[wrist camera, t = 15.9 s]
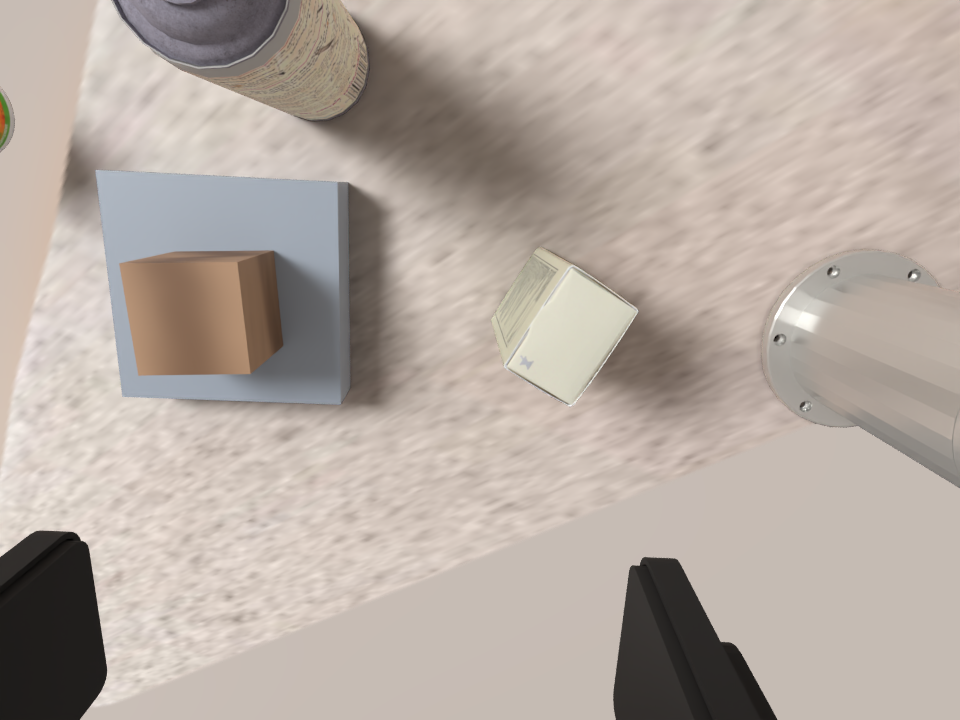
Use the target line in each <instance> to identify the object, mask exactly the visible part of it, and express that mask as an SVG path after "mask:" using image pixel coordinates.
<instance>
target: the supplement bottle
mask: <svg viewBox="0 0 960 720" xmlns="http://www.w3.org/2000/svg"><path fill="white" fill-rule="evenodd" d="M14 124H15V119H14V112H13V108H12V105H11V103H10V101H9V99H8V97H7V95H6V94H5V93H4V91H3V90H2V88H1V87H0V152H1V151H2V150H3V149H5V147H6V146H7V145H8V144H9V142H10V140H11V138H12V136H13V132H14V126H15V125H14Z"/></svg>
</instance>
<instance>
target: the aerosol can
mask: <svg viewBox="0 0 960 720" xmlns="http://www.w3.org/2000/svg"><path fill="white" fill-rule="evenodd" d="M111 1H112V3H113V5H114V7H115V9H116V11H117V13H118V15H119V17H120V19H121V20H122V21H123V22H124V23H125V24H126V25H127V27H128V28H129V29H130V30H131V31H132V32H133V33H134V34H135V36H136V37H137V38H138V39H139V40H140V41H141V42H142V43H143V44H144V45H146V46H147V47H149V48H150V49H151V50H152V51H153V52H154V53H155V54H157V55H158V56H160V57H161V58H163V59H164V60H166V61H168V62H169V63H171V64H172V65H174V66H175V67H177V68H178V69H180V70H182V71H185V72H187V73H190V74H192V75H195V76H197V77H200V78H202V79H204V80H207V81H209V82H212V83H214V84H217V85H219V86H222V87H224V88H227V89H229V90H232V91H234V92H237V93H239V94H242V95H244V96H246V97H249V98H251V99H254V100H256V101H259V102H261V103H264V104H266V105H269V106H271V107H274V108H276V109H279V110H281V111H284V112H286V113H288V114H291V115H294V116H296V117H300V118H303V119H307V120H311V121H321V120H331V119H333V118H335V117H338V116H340V115H342V114H345V113H346V112H347V111H348V110H349V109H350V108H351V107H353V106H354V105H355V104H356V103H357V102H358V100H359V98H360V97H361V95H362V93H363V91H364V89H365V87H366V85H367V80H368V74H369V69H370V65H369V55H368V48H367V45H366V43H365V40H364V38H363V35H362V33H361V30H360V29H359V28H358V26H357V24H356V23H355V22H354V20H353V19H352V17H351V16H350V14H349V13H348V11H347V10H346V8H345V7H344V5H343V4H342V2H341V1H340V0H111Z"/></svg>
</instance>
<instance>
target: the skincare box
mask: <svg viewBox="0 0 960 720" xmlns="http://www.w3.org/2000/svg"><path fill="white" fill-rule="evenodd" d="M638 312H639V310H638V309H637V308H636V307H635V306H633V305H632V304H631V303H629V302H628V301H626V300H625V299H624V298H622V297H621V296H620V295H618V294H617V293H616V292H614V291H613V290H611V289H610V288H609V287H607V286H606V285H604V284H603V283H601V282H600V281H598V280H597V279H595V278H594V277H592V276H591V275H589V274H588V273H586V272H585V271H583V270H582V269H580V268H579V267H577V266H576V265H574V264H572V263H570V262H568V261H566V260H564V259H562V258H560V257H559V256H557V255H555V254H553V253H551V252H550V251H548V250H546V249H544V248H542V247H538V248H537V249H536V250H535V252H534V253H533V255H532V256H531V257H530V259H529V260H528V262H527V263H526V265H525V266H524V268H523V269H522V271H521V272H520V274H519V275H518V277H517V279H516V280H515V282H514V283H513V285H512V286H511V288H510V290H509V291H508V293H507V294H506V296H505V298H504V299H503V301H502V302H501V304H500V306H499V307H498V309H497V311H496V313H495V314H494V316H493V318H492V320H491V322H492V326H493V329H494V333H495V337H496V340H497V344H498V347H499V351H500V354H501V358H502V362H503V366H504V368H505V369H507V370H508V371H510V372H512V373H513V374H515V375H516V376H518V377H519V378H521V379H522V380H524V381H526V382H527V383H529V384H530V385H532V386H534V387H535V388H537V389H539V390H540V391H542V392H544V393H545V394H547V395H549V396H550V397H552V398H554V399H556V400H558V401H559V402H561V403H563V404H565V405H567V406H569V407H571V406H573V405H574V404H575V403H576V401H577V400H578V399H579V398H580V397H581V395H582V394H583V393H584V391H585V390H586V389H587V387H588V386H589V385H590V383H591V382H592V381H593V379H594V378H595V376H596V375H597V374H598V372H599V371H600V369H601V368H602V366H603V365H604V364H605V362H606V361H607V359H608V358H609V356H610V355H611V353H612V352H613V350H614V349H615V347H616V346H617V344H618V343H619V341H620V340H621V338H622V337H623V335H624V334H625V332H626V331H627V329H628V328H629V326H630V324H631V323H632V321H633V320H634V318H635V317H636V315H637V314H638Z"/></svg>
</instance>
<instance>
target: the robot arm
mask: <svg viewBox="0 0 960 720" xmlns="http://www.w3.org/2000/svg"><path fill="white" fill-rule="evenodd" d="M828 269H829V272H828V273H827V271H828ZM776 335H777V337H776V339H775V340H774V338H775V336H776ZM761 359H762V364H763V370H764V374H765V377H766V379H767V382H768V384H769V387H770V388H771V389H772V391H773V392H774V394H775V395H776V397H777V398H778V399H779V400H780V401H781V402H782V403H783V404H784V405H785V406H786V407H787V408H788V409H790V410H791V411H793V412H794V413H795V414H797V415H798V416H800V417H802V418H804V419H806V420H809V421H811V422H813V423H815V424H820V425H824V426H829V427H853V426H859V427H861V428H862V429H864V430H866V431H867V432H869V433H871V434H872V435H874V436H875V437H877V438H879V439H881V440H882V441H884V442H885V443H887V444H889V445H890V446H892V447H894V448H895V449H897V450H898V451H900V452H902V453H903V454H905V455H907V456H908V457H910V458H911V459H913V460H915V461H916V462H918V463H920V464H921V465H923V466H924V467H926V468H928V469H929V470H931V471H933V472H934V473H936V474H938V475H939V476H941V477H942V478H944V479H946V480H947V481H949V482H951V483H952V484H954V485H955V486H957V487H959V488H960V292H958V291H954V290H949V289H944V288H940V286H939V285H938V283H937V281H936V279H935V278H934V277H933V276H932V275H931V274H930V273H929V272H928V271H927V270H926V269H925V268H924V267H923V266H921V265H920V264H918V263H917V262H915V261H914V260H912V259H910V258H907V257H905V256H902V255H900V254H897V253H893V252H887V251H882V250H867V249H860V250H854V251H847V252H842V253H839V254H836V255H833V256H830V257H828V258H825V259H823V260H822V261H820V262H818V263H816V264H814V265H812V266H811V267H809V268H808V269H807V270H805V271H804V272H803V273H801V274H800V275H799V276H798V277H796V278H795V279H794V280H793V281H792V282H791V284H790V285H789V286H788V287H787V288H786V289H785V290H784V291H783V292H782V294H781V295H780V297H779V298H778V300H777V302H776V303H775V305H774V306H773V308H772V310H771V312H770V315H769V317H768V319H767V322H766V324H765V329H764V333H763V337H762V348H761ZM106 676H107V665H106V658H105V652H104V645H103V639H102V632H101V625H100V619H99V612H98V606H97V599H96V592H95V586H94V579H93V573H92V566H91V559H90V553H89V548H88V545H87V544H86V543H85V542H83V541H81V540H80V537H79V536H78V535H77V534H76V533H74V532H61V531H36V532H34V533H32V534H30V535H29V536H28V537H26V538H25V539H24V540H22V541H21V542H20V543H18V544H17V545H16V546H14V547H13V548H12V549H10V550H9V551H8V552H7V553H5V554H4V555H3V556H1V557H0V720H80V718H81V717H82V716H83V715H84V713H85V712H86V711H87V709H88V708H89V707H90V706H91V704H92V703H93V702H94V700H95V699H96V698H97V696H98V695H99V693H100V692H101V690H102V688H103V686H104V684H105V680H106ZM613 695H614V696H613V697H614V699H613V701H614V712H615V717H616V720H777V718H776V716H775V715H774V713H773V711H772V709H771V707H770V705H769V703H768V702H767V700H766V698H765V696H764V694H763V692H762V691H761V689H760V687H759V685H758V683H757V681H756V680H755V678H754V676H753V674H752V672H751V671H750V669H749V667H748V665H747V663H746V661H745V660H744V658H743V656H742V654H741V653H740V651H739V650H738V648H737V647H736V646H735V645H734V644H732V643H729V642H720V640H719V638H718V636H717V634H716V632H715V630H714V628H713V626H712V625H711V623H710V621H709V619H708V617H707V615H706V613H705V611H704V609H703V607H702V605H701V603H700V601H699V600H698V597H697V596H696V594H695V592H694V590H693V588H692V586H691V584H690V582H689V580H688V578H687V576H686V574H685V572H684V570H683V569H682V566H681V565H680V563H679V562H678V560H677V559H671V558H669V559H668V558H648V557H644V558H642V560H641V563H640V566H631V567H630V570H629V577H628V584H627V592H626V601H625V608H624V616H623V623H622V631H621V638H620V646H619V654H618V661H617V669H616V677H615V684H614V694H613Z"/></svg>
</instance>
